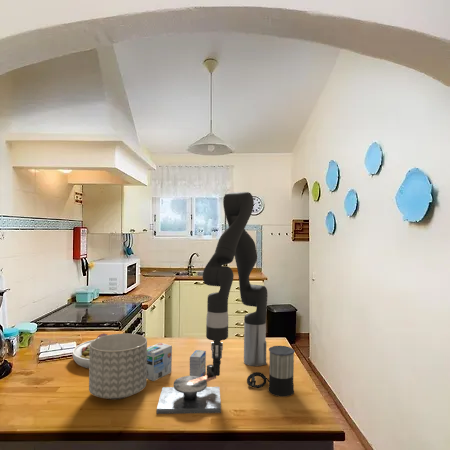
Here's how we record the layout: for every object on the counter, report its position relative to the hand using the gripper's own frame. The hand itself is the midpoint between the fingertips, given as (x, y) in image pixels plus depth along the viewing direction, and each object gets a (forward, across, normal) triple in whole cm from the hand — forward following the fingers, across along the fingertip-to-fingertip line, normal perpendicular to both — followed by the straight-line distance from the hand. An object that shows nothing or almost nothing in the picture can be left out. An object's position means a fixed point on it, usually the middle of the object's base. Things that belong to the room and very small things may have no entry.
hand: (216, 374), depth 124 cm
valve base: (+8, -3, +9) cm, 12 cm away
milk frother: (+8, +7, -19) cm, 22 cm away
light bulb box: (+8, +18, +24) cm, 31 cm away
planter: (+8, +2, +34) cm, 35 cm away
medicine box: (+8, +18, +8) cm, 21 cm away
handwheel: (+2, -2, +7) cm, 7 cm away
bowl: (+8, +35, +47) cm, 59 cm away
